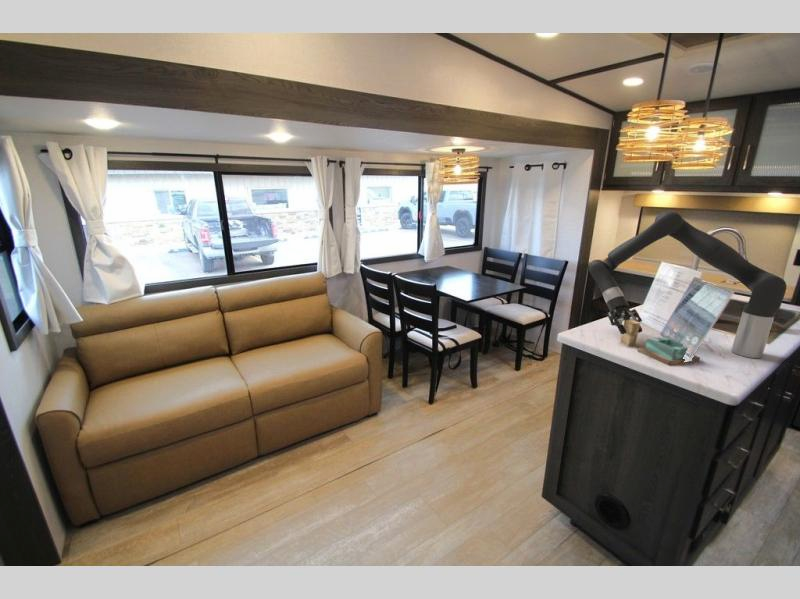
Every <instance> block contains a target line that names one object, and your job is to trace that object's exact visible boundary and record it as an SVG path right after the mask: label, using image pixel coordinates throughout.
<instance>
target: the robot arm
mask: <svg viewBox="0 0 800 599" xmlns="http://www.w3.org/2000/svg"><path fill="white" fill-rule="evenodd" d="M667 236H669V237H670V238H672V239H675V240H676V241H678V242H679V243H680V244H682V245H683V246H685V247H686V248H687V249H688V250H689V251H690V252H691V253H692V254H694V255H695V256H697V257H698V258H699V259H701V260H702V261H704V262H705V263H707V264H708V265H709V266H712V267H713V268H715V269H717V270H719V271H721V272H722V273H724V274H725V273H726V274H728V275H729V276H731V277H733V278H735V279H736V280H737V281H738V282H740V283H741V284H742V285H743V286H744V287H745V288H747V289H748V290H749V291H750V292H751V294H750V297H749V299H748V302H747V303H746V304H745V305H744V306H743V310H742V311H741V312H742V313H741V316H740V320H739V322H738V323H739V324H738V326H737V330H736V333H735V337H734V339H733V343H732V346H731V349H730V350H731V352H732V353H734V354H736V355H739V356H742V357H746V358H751V359H761V358H762V357H763V354H764V351H765V348H766V345H767V342H768V339H769V337H770V336H769V335H770V332H771V328H772V326H773V322H774V319H775V316H776V313H777V312H778V311H779V310H780V309H781V307H782V303H783V301H784V298H785V295H786V292H787V283H786V281H785V280H784V279H783V278H782V277H780V276H778V275H775V274H773V273H771V272H768V271H766V270H764V269H762V268H760V267H758V266H757V265H754V264H753V263H751V262H750V261H748V260H747V259H745V257H744V256H742V254H740V253H739V252H738V251H737V250H736V249H734V248H733V247H732V246H730V245H729V244H727V243H726V242H724V241H722V240H720V239H719V238H718V237H717V238H716V237H715V236H713V235H711V234H709V233H707V232H704V231H702V230H700V229H698V228H696V227H694V226H693V225H691V224H690V222H688V221H686V220H685V219H684V218H683V217H682V215H681V214H679V213H678V212H677V211H673V210H666V211H662V212H660V213H658V214H657V216H656V217H655V219H654V222H653V223H651V224H650V225H649V226H648V227H647V228H646V229H645V230H643V231H642V232H640V233H639V234H636V235H635V236H633V237H632V238H629V239H628V240H626V241H624V242H623V243H621V244H620V245H618V246H617V247H615V248H614V249H612V250H611V251H609V252H608V254H607V257H606V258H605V259H604V260H602V259H593V260H592V261H590V263H589V265H588V273H590V275H591V277H592V278H593V280H594V281H595V283H596V284H597V285H598V288H599V290H600V292H601V294H602V296H603V299H604V301H605V303H606V305H607V308H608V310H609V312H608V313H606V315H607V317H608V320H609V321H610V323H611V324H610V325H611V326H613V327H617V329H618V330H619V333H620V334H621V335H622V334H625V333H626V330H625V328H624V324H623V322H624V321H626V320H633V321H636V322H639V323H641V322H642V321H643V319H642V318H641V316H640V314H639V313H638V311H637V310H636V309H635V308H633V309H631V310H630V309H629V306H630V305H629V302H628V301H627V299H626V297H625V295H624V293H623V291H622V290H621V289H620V287H619V285H618V283H617V282H616V279H615V278H614V277H613V276H612V275H611V273H612V272H614V271H615V270H616V269H618V268H617V267H619V266H620V265H621V264H623V263H624V262H626V261H627V260H629V259H631V257H633V256H635V255H636V254H638V253H639V252H642V250H644V249H645V248H647V247H648V246H650V245H651V244H654V243H655V242H657V241H659V240H661V239H663V238H665V237H667ZM642 332H643V328H642V326H641V325H640V326H639V331H638V334H640V333H642Z"/></svg>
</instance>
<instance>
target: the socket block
mask: <svg viewBox="0 0 800 599" xmlns="http://www.w3.org/2000/svg"><path fill="white" fill-rule="evenodd" d="M680 342H681V341H680ZM680 342H679V340H677V339H675V338H671V337H669V336H666V337H664V336H663V337H655V338H648V339H646V343H645V346H644V347H638V349H637V352H638V353H641V354H643V355H644V356H647V357H649V358H651V359H654V360H655V361H658V362H660V363H662V364H664V365H667V366H672V365H680V363H681V364H684V363H683V362H684V361H685V359H683V357H684V355H685V353H686V351H687V349H688V348H687V347H686V346H683V344H682V343H683V342H682V343H680ZM693 355H694V357H693V358H692V361H695V362H700V359H701V357H700V356H698V355H695V354H693Z"/></svg>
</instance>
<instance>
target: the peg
mask: <svg viewBox="0 0 800 599" xmlns="http://www.w3.org/2000/svg"><path fill="white" fill-rule="evenodd" d="M623 326H624V328H625V330H626V333H625V334H621V337H620V341H619V343H620V342H621V343H620V344H623V345H626V346H627V347H630V346H631V347H632V346H636V344H637V338H638V335H639V333H638V331H639V326H641V322H636V321H634V320H626V321H623Z"/></svg>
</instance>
